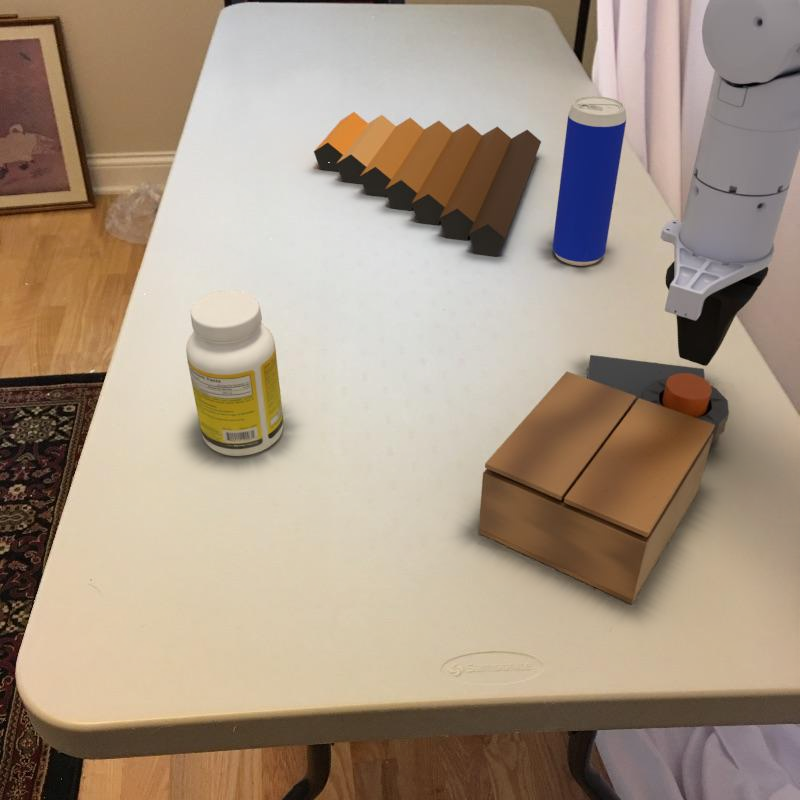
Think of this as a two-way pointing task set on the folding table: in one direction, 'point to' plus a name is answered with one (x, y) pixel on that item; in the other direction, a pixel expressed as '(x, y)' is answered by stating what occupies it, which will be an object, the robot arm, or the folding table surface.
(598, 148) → the beverage can
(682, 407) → the button
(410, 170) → the pan flute
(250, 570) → the folding table surface
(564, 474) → the carton
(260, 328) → the pill bottle
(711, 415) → the control box
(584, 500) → the flap
